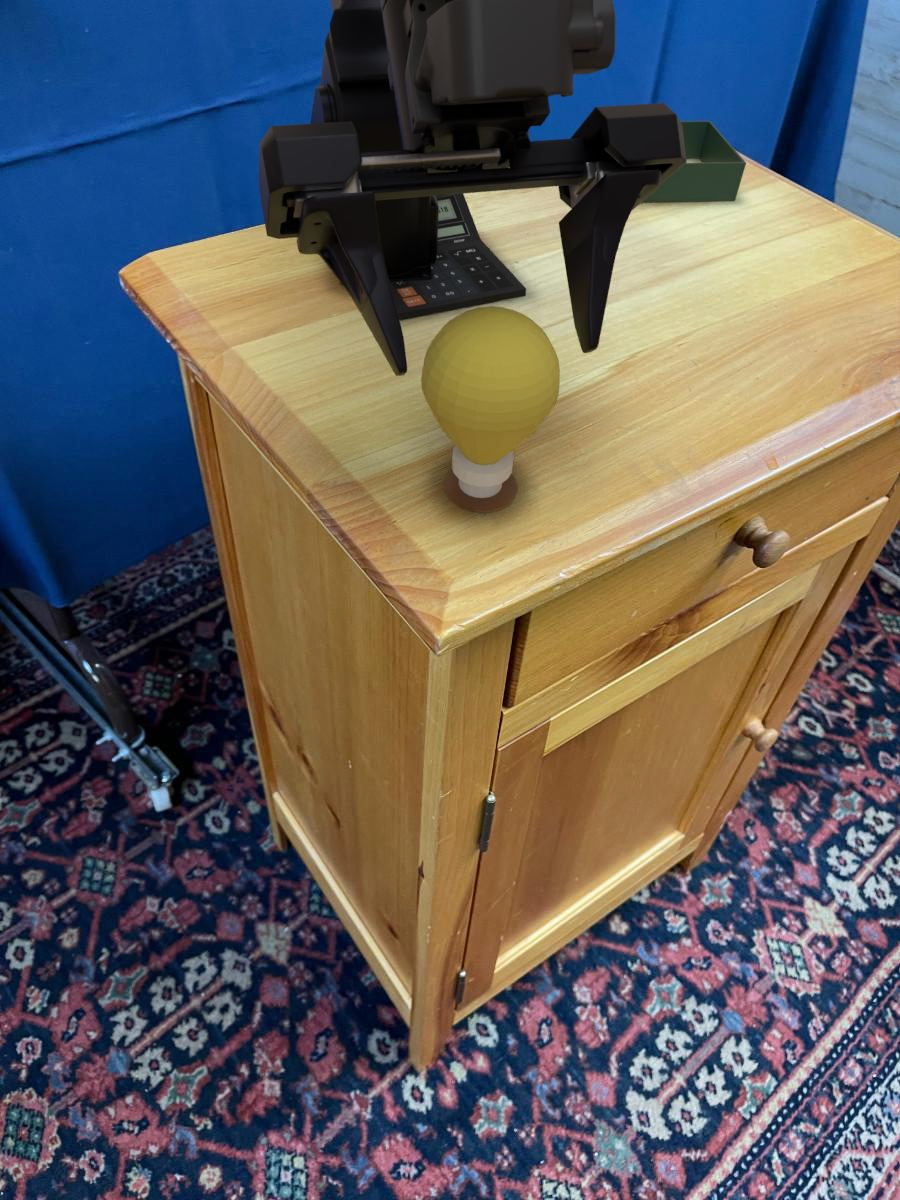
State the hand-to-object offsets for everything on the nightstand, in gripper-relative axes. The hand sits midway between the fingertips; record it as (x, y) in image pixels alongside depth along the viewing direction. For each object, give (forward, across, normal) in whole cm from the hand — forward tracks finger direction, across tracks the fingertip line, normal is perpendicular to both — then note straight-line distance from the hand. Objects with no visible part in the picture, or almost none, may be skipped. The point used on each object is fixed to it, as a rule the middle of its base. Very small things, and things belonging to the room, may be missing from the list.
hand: (498, 362), depth 40 cm
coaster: (+5, 0, +6) cm, 8 cm away
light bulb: (+5, 0, +6) cm, 8 cm away
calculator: (-11, +3, +23) cm, 26 cm away
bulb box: (-18, +27, +30) cm, 45 cm away
